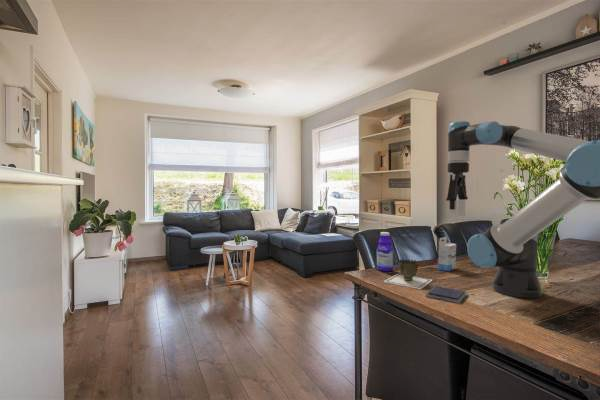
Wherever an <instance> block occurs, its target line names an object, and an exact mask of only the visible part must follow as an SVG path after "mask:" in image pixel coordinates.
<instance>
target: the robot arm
mask: <svg viewBox="0 0 600 400" xmlns="http://www.w3.org/2000/svg"><path fill="white" fill-rule="evenodd" d="M447 137H448V139H447V143H448V146H447V147H448V149H447V151H448V152H447V154H446V158H447V162H448V163H447V173H449V174H450V175H449V185H448V191H447V197H446V201H448V219H457V218H458V217H457V216H460V217H461V216H463V217H465V216H466V200H468V199H469V198H468V195H467V186H466V175H465V174H466V173H469V172H470V164H469V161H470V148H471V147H472V146H478V145H484V146H500V147H505V148H509V149H514V150H519V151H521V152H522V151H523V152H526V153H530V154H534V155H538V156H542V157H545V158H548V159H549V158H550V159H552V160H556V161H560V162H564V163H566V164H565V165H564V166H563V167H561V169H559V178H557V179H556V180H555V181H554V182H552V183H551V184H550V185H549V186H548V187H546V188H545V189H543V191H541V192H540V193H539V194H538V195H536V196H535V197H534V198H533V199H531V200H530V201H529V202H528V203H526V204H525V205H524V206H523V207H521V208H520V209H519V210H517V212H516V213H514V214H513V215H511V216H510V217H509V218H508V219H507V220H506V221H504V222H503V223H502V224H501V223H495V224H493V225H492V226H491V227H489V228H488V229H486V230H485V231H484V232H483V233H476V234H474V235H471V237H470V238H469V239H468V241H467V245H466V246H467V249H466V251H467V254H468V257H469V259H470V260H471V261H472V262H473V264H474V265H476V266H477V267H478V268H479V267H480V268H482V269H492V268H498V270H497V272H496V275H495V277H494V279H493V282H492V289H493V290H494V291H495V292H497V293H500V294H503V295H505V296H509V297H513V298H514V297H515V298H522V299H524V298H525V299H536V298H537V299H538V298H541V297H542V296H543V288H542V286H541V282H540V280H539V275H538V274H537V272H538V269H537V264H538V246H539V241H538V240H539V239H538V234H540V233H541V232H543V231H545V229H547V228H548V227H549V226H551V225H553V224H554V223H555V222H556V221H558V220H559V219H561V218H563V217H564V216H565V215H566V214H568V213H570V212H571V211H573V210H574V209H575V208H577V207H579V205H581V204H582V203H584V202H585V201H587V200H599V199H600V139H597V140H591V141H590V140H589V141H588V140H585V139H579V138H573V137H569V136H564V135H559V134H554V133H549V132H544V131H538V130H533V129H528V128H523V127H519V126H517V125H503V124H500V123H499V122H498V121H496V120H494V121H485V122H482V123H476V124H471V122H469V121H466V120H465V121H464V120H461V121H453V122H451V123H450V124H449V125H448V132H447ZM464 173H465V174H464ZM457 198H458V199H457Z"/></svg>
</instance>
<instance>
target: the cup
mask: <svg viewBox="0 0 600 400" xmlns="http://www.w3.org/2000/svg"><path fill="white" fill-rule="evenodd" d="M398 264H399V271H400V273H399V274H402V275H403V276H404V277H403V279H404V280H405V281H412V280H413V277H416V274H417V273H418V266H419V265H418V264H419V262H418V261H417V260H416V259H414V260H413V259H411V260H410V259H407V258H406V259H401V258H400V259H399V260H398Z"/></svg>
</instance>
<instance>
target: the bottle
mask: <svg viewBox="0 0 600 400" xmlns="http://www.w3.org/2000/svg"><path fill="white" fill-rule="evenodd" d="M379 235H380V238H379V240H378V245H377V248H376V268H377V270H379V271H384V272H391V271H392V270H393V269H394V247H393V246H392V241H391V237H390V232H388V231H380V234H379Z"/></svg>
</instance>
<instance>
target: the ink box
mask: <svg viewBox="0 0 600 400" xmlns="http://www.w3.org/2000/svg"><path fill="white" fill-rule="evenodd" d="M447 239H448V238H447V236H443V237H439V239H438V268H437V269H438V270H439V271H445V272H450V271H453V270H455V269H457V268H456V267H457V264H456V263H457V261H456V260H457V243H451V242H447Z"/></svg>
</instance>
